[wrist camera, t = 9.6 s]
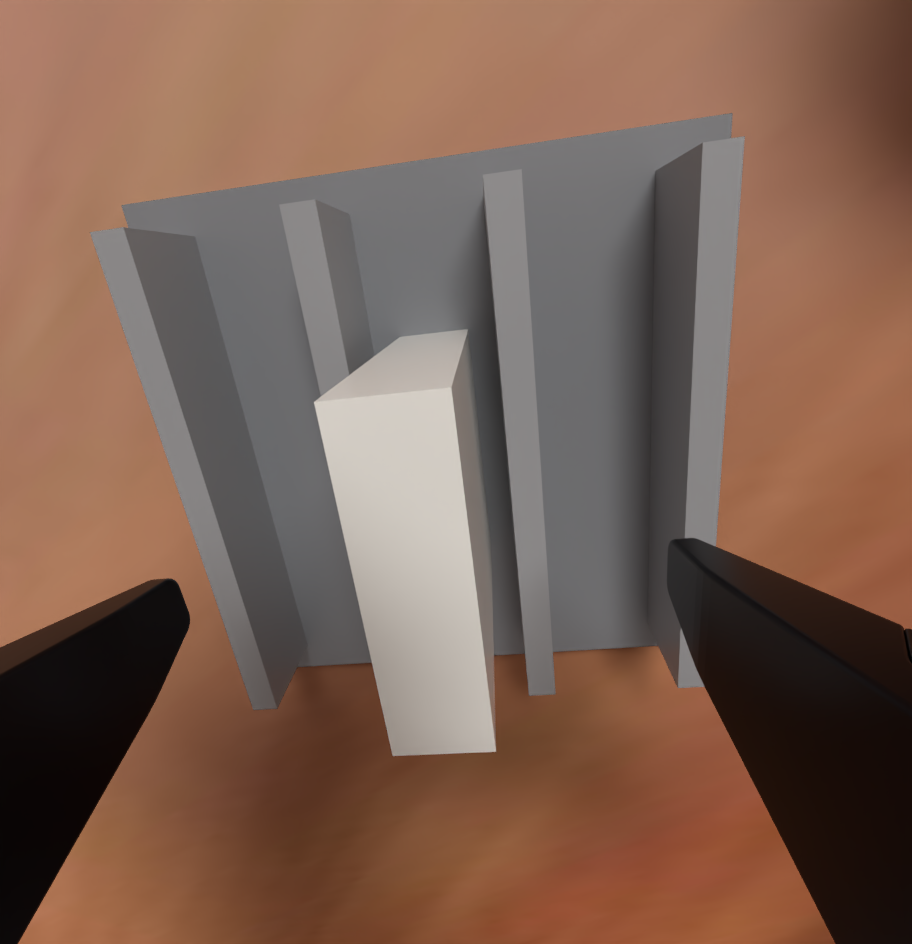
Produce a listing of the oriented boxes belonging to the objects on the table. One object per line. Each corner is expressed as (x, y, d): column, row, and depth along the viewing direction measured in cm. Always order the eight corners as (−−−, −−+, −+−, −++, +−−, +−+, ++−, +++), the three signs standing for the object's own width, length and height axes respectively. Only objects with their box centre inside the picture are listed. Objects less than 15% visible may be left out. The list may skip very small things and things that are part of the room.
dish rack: (690, 628, 19) (738, 710, 15) (276, 654, 20) (232, 734, 17) (718, 122, 13) (803, 67, 10) (139, 208, 15) (30, 188, 11)
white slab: (491, 543, 17) (496, 751, 10) (432, 548, 17) (392, 756, 10) (468, 329, 15) (451, 386, 7) (399, 336, 15) (313, 402, 7)
